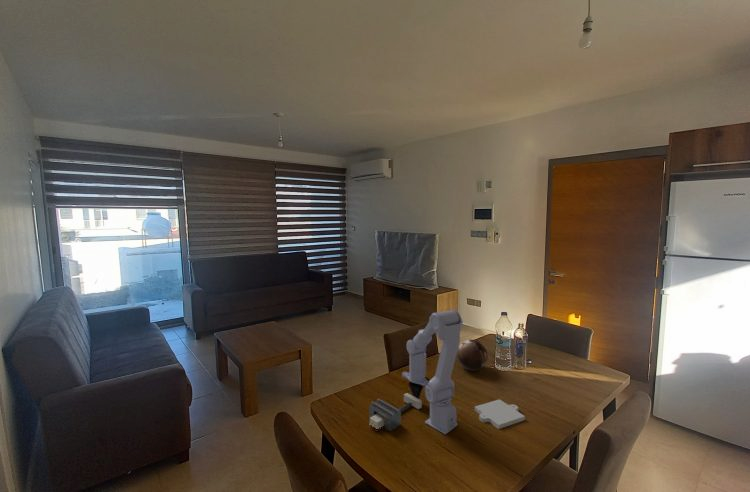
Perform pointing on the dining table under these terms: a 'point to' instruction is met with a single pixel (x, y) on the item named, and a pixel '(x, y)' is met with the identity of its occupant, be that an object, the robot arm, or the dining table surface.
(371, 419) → the white ended gray rod
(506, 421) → the mounting plate
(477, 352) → the wooden sphere
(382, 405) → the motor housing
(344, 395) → the dining table surface
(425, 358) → the skincare box
